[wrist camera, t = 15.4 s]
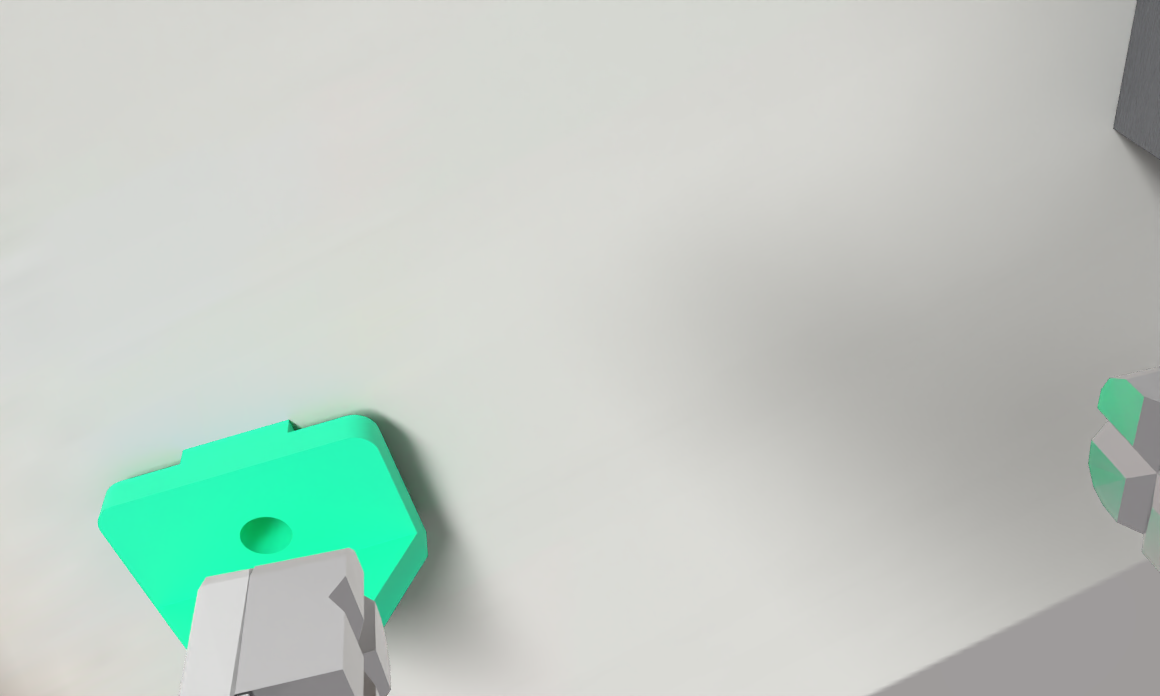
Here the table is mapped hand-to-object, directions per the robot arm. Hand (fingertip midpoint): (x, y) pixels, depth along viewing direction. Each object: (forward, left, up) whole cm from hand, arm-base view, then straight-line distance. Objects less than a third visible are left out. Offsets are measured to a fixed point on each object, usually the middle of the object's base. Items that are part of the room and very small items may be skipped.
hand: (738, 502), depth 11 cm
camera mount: (+23, -14, -29) cm, 40 cm away
